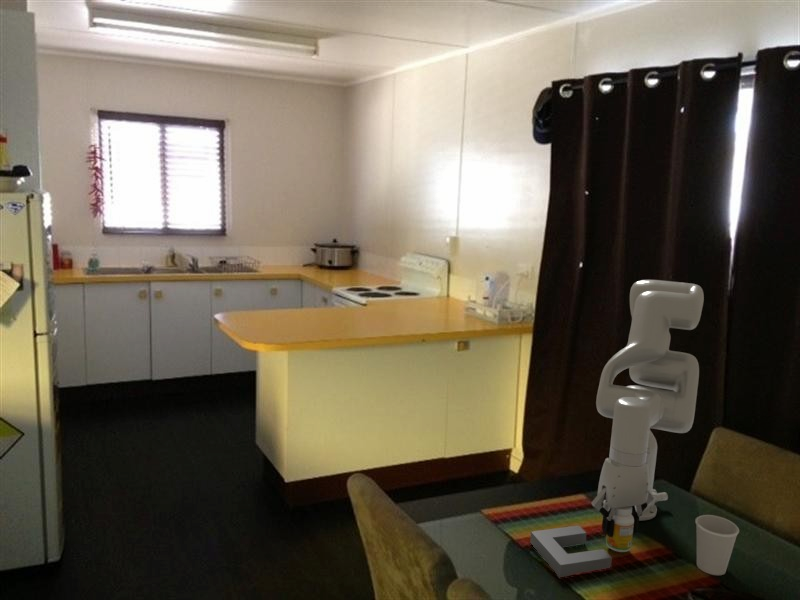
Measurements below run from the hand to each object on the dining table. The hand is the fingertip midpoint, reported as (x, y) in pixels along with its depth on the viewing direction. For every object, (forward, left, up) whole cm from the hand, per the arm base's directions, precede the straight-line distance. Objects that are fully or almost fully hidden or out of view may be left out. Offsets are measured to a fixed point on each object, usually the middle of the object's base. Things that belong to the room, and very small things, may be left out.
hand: (619, 531), depth 146 cm
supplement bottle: (0, 0, -4) cm, 4 cm away
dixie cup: (-16, +10, -5) cm, 20 cm away
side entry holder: (+12, 0, -4) cm, 13 cm away
